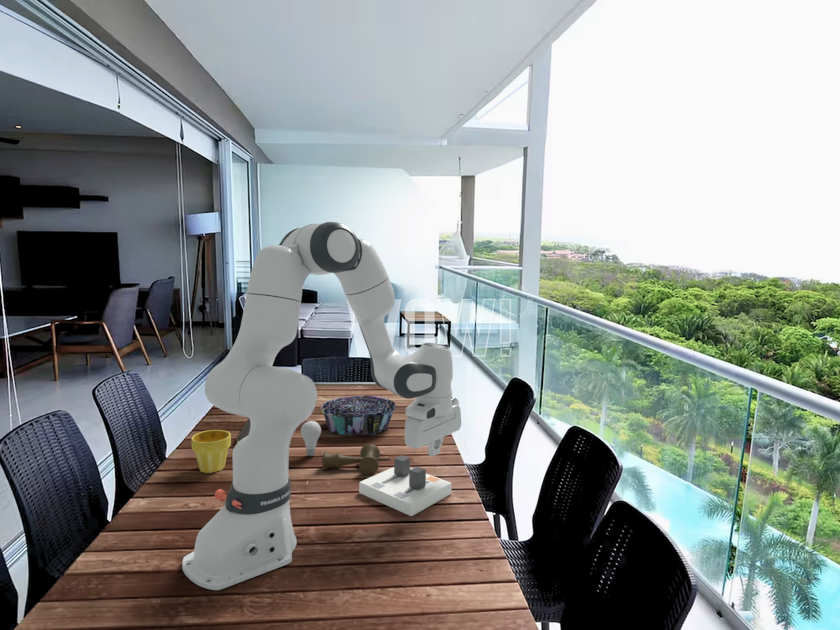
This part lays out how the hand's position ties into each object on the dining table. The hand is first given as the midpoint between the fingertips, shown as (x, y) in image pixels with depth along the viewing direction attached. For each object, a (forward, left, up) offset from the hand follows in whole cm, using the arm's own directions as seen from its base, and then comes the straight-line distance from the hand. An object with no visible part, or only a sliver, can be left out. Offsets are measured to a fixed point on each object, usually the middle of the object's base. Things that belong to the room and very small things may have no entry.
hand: (434, 454), depth 136 cm
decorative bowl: (+21, +51, -10) cm, 56 cm away
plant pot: (-33, +55, -10) cm, 65 cm away
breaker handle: (-4, +8, -6) cm, 11 cm away
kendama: (-5, +25, -10) cm, 27 cm away
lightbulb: (-8, +42, -10) cm, 44 cm away
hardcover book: (-5, +70, -10) cm, 71 cm away
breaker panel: (-7, +4, -10) cm, 12 cm away
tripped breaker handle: (-7, 0, -6) cm, 10 cm away
